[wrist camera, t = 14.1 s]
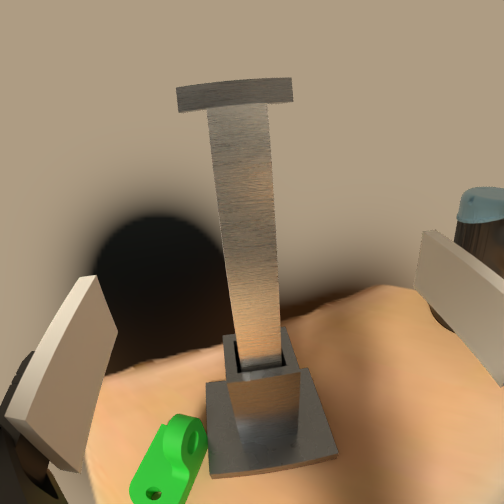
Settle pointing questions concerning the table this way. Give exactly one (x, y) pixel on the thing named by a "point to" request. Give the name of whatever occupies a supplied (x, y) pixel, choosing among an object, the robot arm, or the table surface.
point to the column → (245, 205)
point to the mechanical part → (171, 462)
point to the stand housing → (265, 417)
